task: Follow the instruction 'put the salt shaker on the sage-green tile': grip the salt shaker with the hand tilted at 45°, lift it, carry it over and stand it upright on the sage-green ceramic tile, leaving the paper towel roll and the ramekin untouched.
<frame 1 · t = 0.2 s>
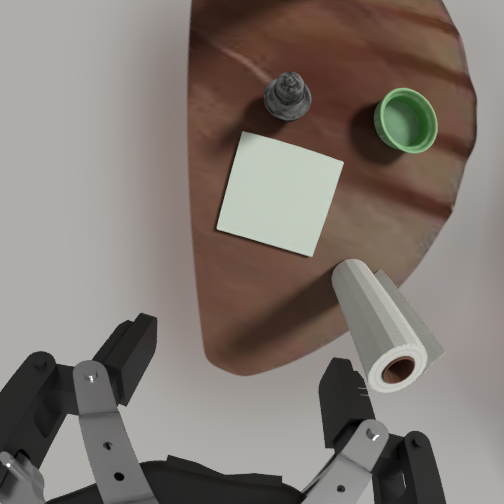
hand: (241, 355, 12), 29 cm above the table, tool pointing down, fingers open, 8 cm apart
sage tile: (279, 194, 38), on the table
paper towel roll: (352, 277, 41), on the table
ramekin: (397, 123, 33), on the table
salt shaker: (286, 103, 34), on the table
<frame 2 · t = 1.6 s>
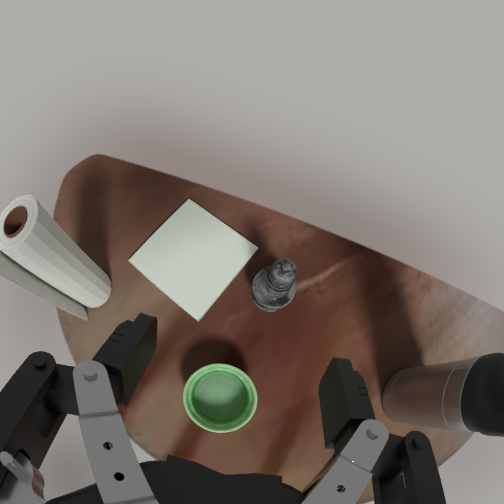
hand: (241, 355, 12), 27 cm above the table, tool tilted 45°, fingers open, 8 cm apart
sage tile: (192, 256, 42), on the table
paper towel roll: (93, 292, 38), on the table
ramekin: (220, 395, 34), on the table
salt shaker: (269, 294, 41), on the table
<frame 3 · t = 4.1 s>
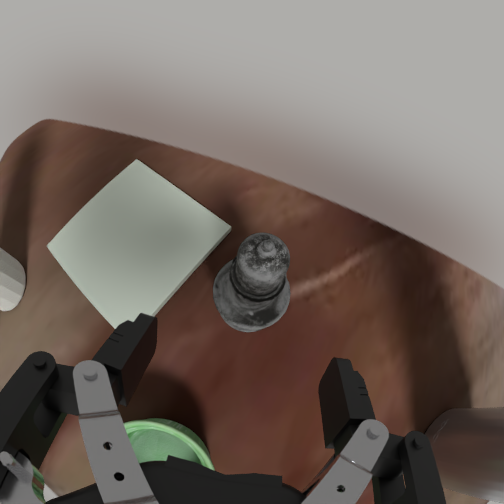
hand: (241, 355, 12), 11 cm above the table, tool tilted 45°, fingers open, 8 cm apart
sage tile: (130, 240, 26), on the table
paper towel roll: (7, 289, 22), on the table
ramekin: (165, 458, 18), on the table
salt shaker: (248, 302, 24), on the table
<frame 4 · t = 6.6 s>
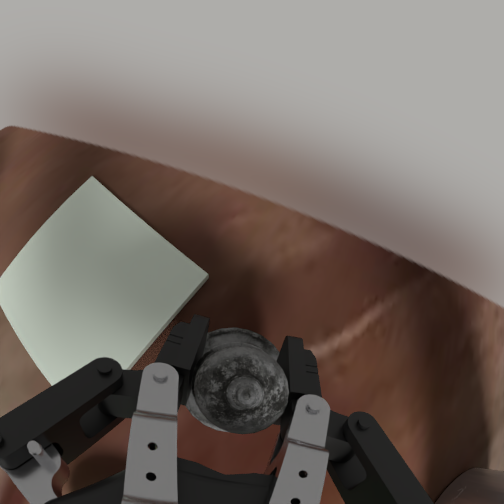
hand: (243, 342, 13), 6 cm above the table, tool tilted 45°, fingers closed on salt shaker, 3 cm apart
sage tile: (81, 287, 18), on the table
salt shaker: (231, 378, 17), on the table, touching gripper
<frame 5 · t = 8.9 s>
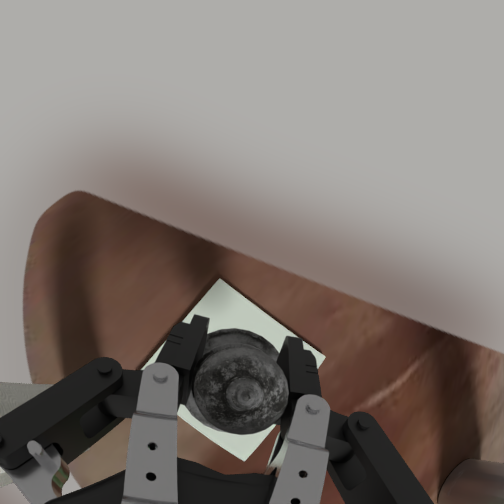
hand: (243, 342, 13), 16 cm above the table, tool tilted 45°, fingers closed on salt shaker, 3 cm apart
sage tile: (230, 372, 27), on the table
paper towel roll: (90, 412, 23), on the table
salt shaker: (231, 379, 17), point 10 cm above the table, touching gripper
when the fingers open (8 cm above the table, at t = 11.2 s): salt shaker drops 1 cm, resting on sage tile.
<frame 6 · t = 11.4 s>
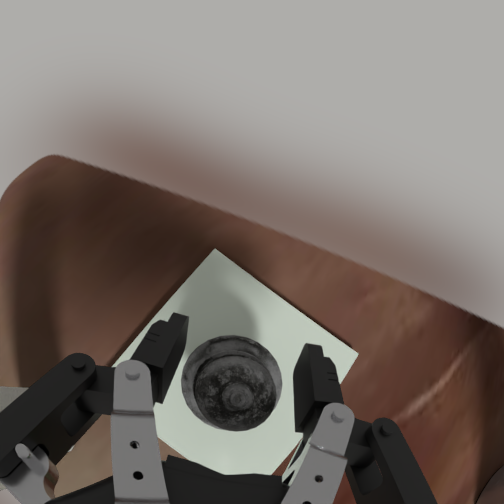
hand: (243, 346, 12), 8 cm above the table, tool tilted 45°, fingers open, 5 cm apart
sage tile: (229, 377, 19), on the table
paper towel roll: (48, 424, 15), on the table
salt shaker: (230, 380, 18), point 1 cm above the table, touching sage tile
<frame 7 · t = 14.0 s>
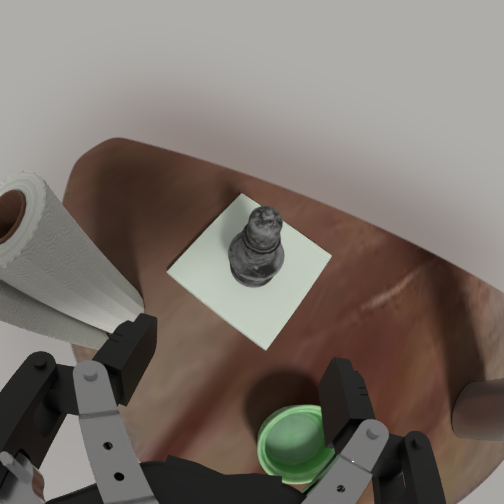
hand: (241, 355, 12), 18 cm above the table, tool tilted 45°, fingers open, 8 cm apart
sage tile: (252, 266, 33), on the table
paper towel roll: (118, 313, 29), on the table
ramekin: (292, 436, 26), on the table
salt shaker: (252, 266, 32), point 1 cm above the table, touching sage tile
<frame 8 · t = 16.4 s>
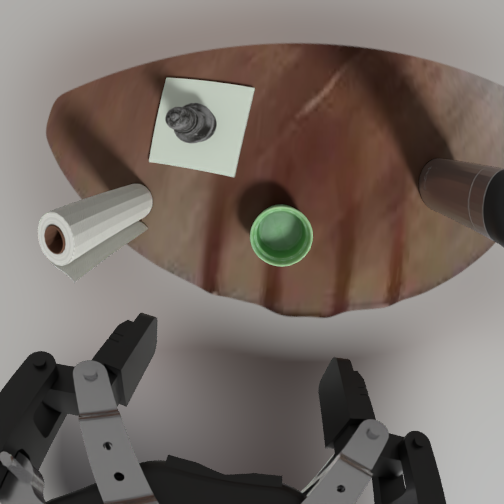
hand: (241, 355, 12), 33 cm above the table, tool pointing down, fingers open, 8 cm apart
sage tile: (199, 124, 39), on the table
paper towel roll: (137, 203, 44), on the table
ramekin: (280, 228, 44), on the table
salt shaker: (199, 125, 38), point 1 cm above the table, touching sage tile
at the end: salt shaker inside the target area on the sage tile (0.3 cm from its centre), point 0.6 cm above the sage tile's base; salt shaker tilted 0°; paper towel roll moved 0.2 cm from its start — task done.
